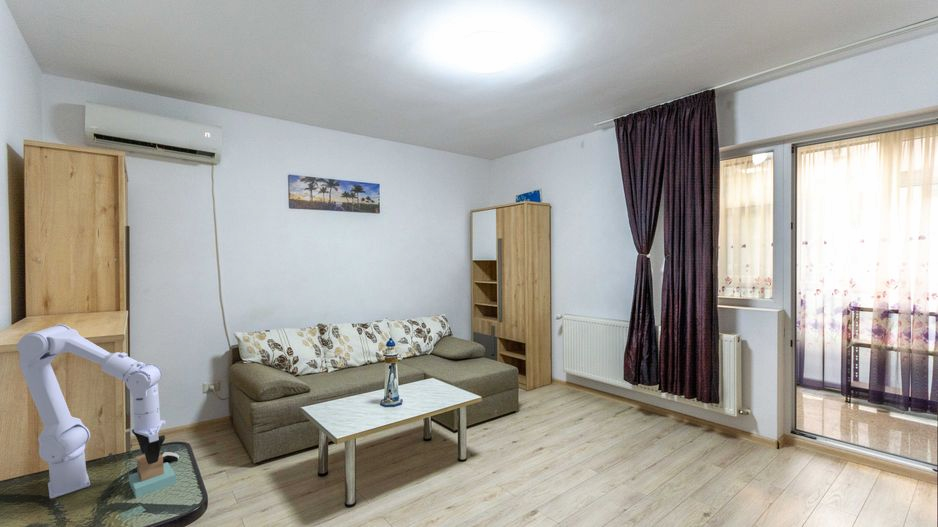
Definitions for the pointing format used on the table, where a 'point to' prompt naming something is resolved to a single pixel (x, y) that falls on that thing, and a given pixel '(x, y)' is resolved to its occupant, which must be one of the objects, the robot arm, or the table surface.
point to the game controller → (170, 456)
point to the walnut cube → (149, 467)
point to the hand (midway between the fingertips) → (149, 457)
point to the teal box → (152, 482)
